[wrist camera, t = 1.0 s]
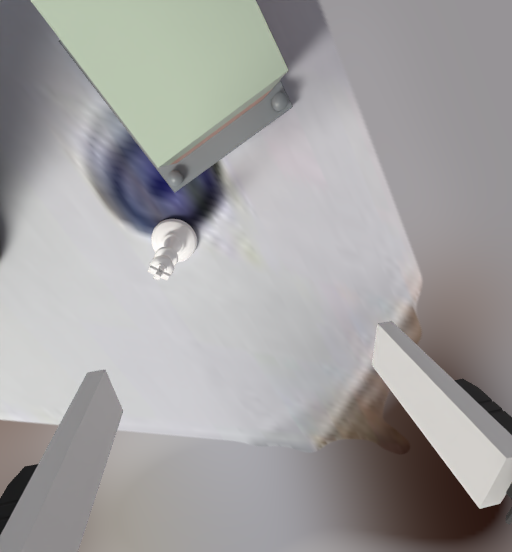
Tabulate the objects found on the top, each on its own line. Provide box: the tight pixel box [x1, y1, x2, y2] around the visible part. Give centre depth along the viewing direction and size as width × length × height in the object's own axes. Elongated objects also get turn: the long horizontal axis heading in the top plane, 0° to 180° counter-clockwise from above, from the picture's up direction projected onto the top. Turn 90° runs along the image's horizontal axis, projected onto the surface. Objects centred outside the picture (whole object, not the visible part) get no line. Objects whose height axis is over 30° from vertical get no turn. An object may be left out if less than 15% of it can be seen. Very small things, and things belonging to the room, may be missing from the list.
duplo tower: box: [30, 0, 293, 192], centre depth 20 cm, size 14×14×11 cm
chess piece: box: [147, 219, 197, 280], centre depth 26 cm, size 5×5×10 cm
